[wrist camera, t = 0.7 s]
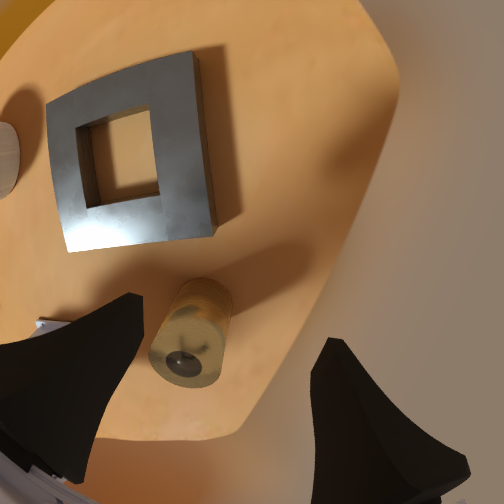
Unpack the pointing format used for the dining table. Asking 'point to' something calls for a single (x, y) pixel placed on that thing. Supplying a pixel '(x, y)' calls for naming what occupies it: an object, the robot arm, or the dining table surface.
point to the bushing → (193, 335)
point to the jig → (165, 151)
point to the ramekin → (8, 158)
